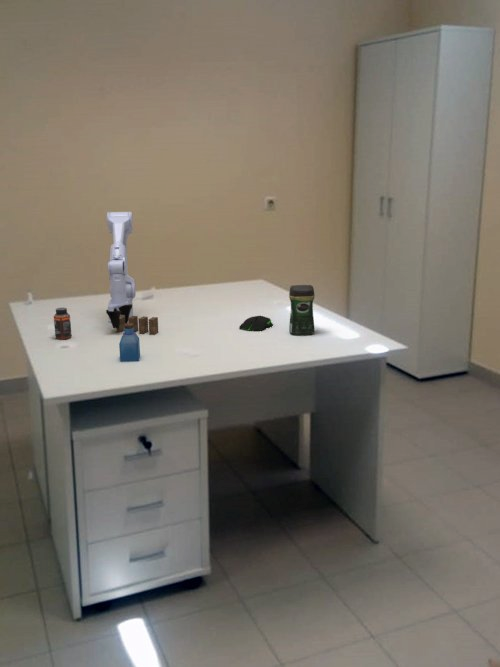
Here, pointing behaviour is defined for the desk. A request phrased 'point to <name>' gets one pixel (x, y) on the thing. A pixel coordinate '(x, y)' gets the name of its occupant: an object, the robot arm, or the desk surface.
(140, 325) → the domino
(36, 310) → the desk surface
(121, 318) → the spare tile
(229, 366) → the desk surface
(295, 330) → the coffee jar
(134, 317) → the domino
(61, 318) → the supplement bottle
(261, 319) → the computer mouse
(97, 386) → the desk surface
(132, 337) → the perfume bottle
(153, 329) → the domino
